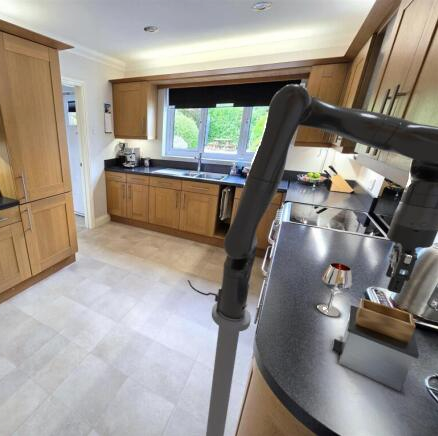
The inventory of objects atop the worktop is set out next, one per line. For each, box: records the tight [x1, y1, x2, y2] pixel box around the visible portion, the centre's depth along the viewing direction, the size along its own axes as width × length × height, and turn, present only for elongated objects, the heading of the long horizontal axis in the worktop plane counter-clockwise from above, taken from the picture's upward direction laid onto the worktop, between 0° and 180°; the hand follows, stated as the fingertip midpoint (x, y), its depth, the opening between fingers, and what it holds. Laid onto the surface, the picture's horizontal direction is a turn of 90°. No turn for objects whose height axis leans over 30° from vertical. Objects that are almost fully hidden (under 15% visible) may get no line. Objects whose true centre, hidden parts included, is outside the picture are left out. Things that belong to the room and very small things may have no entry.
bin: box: [331, 304, 420, 392], centre depth 66 cm, size 14×13×12 cm
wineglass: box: [317, 262, 353, 318], centre depth 85 cm, size 8×8×18 cm
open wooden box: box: [356, 297, 416, 343], centre depth 63 cm, size 10×6×5 cm, turn 49°
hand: (392, 284), depth 61 cm, fingers open, 8 cm apart
